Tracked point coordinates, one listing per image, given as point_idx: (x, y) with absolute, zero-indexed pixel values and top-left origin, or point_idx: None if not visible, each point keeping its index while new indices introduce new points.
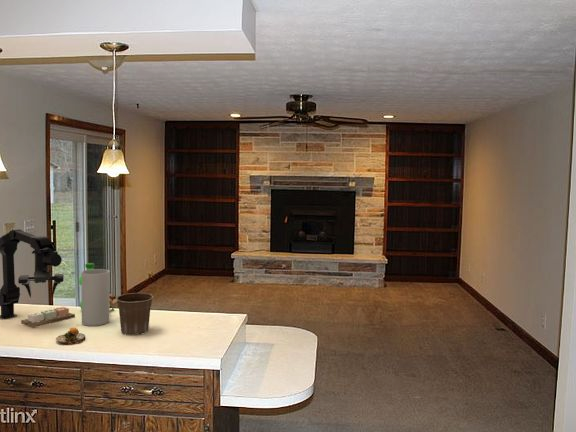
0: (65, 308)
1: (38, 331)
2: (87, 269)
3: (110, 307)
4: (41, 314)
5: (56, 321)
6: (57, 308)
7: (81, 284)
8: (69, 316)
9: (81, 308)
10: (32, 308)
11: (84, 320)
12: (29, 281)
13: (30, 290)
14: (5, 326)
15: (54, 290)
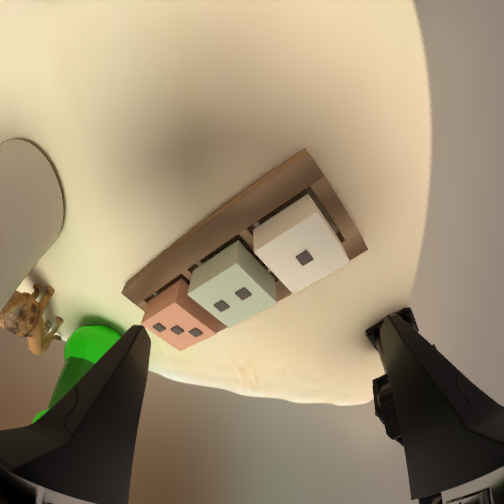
0: (155, 324)
1: (259, 63)
2: None
3: (53, 336)
4: (265, 244)
5: (187, 233)
6: (194, 329)
7: None
8: (138, 277)
9: None
10: (311, 385)
11: (27, 158)
12: (423, 496)
13: (417, 391)
14: (423, 212)
15: (84, 378)
